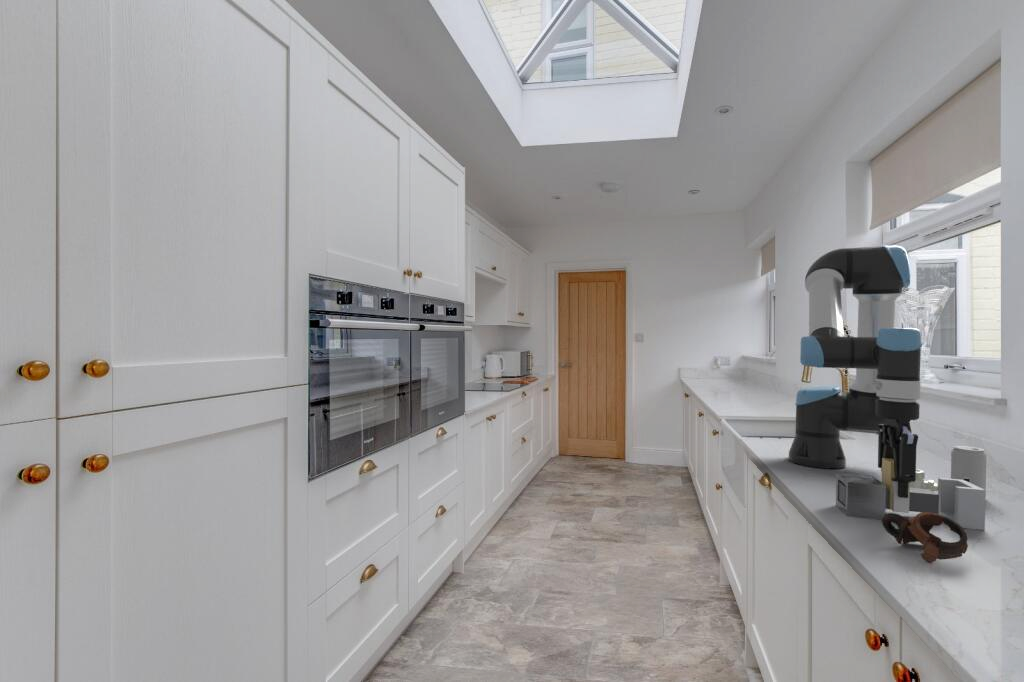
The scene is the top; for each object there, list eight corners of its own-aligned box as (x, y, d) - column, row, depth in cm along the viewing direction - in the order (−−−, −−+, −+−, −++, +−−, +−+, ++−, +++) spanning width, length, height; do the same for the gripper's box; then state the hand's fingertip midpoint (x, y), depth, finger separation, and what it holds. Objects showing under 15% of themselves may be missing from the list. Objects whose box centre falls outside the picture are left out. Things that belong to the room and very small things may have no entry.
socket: (937, 514, 111) (938, 477, 111) (962, 516, 110) (963, 479, 110) (957, 527, 104) (958, 487, 104) (984, 530, 102) (985, 490, 102)
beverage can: (989, 502, 120) (990, 451, 120) (953, 498, 123) (955, 448, 123) (981, 495, 126) (982, 446, 126) (947, 491, 129) (948, 443, 129)
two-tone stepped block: (838, 499, 115) (839, 454, 115) (928, 507, 110) (929, 461, 110) (845, 505, 111) (846, 459, 111) (939, 514, 106) (940, 466, 106)
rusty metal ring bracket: (957, 552, 92) (975, 521, 88) (953, 592, 86) (972, 560, 82) (878, 521, 99) (891, 491, 95) (869, 555, 93) (883, 525, 89)
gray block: (835, 505, 116) (836, 473, 116) (871, 508, 114) (872, 476, 114) (847, 515, 109) (847, 481, 109) (885, 519, 107) (886, 485, 107)
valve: (902, 499, 122) (969, 510, 115) (902, 471, 122) (970, 481, 115) (903, 492, 127) (968, 503, 120) (904, 466, 127) (969, 475, 120)
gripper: (861, 394, 119) (859, 494, 120) (894, 403, 102) (892, 519, 103) (899, 396, 117) (897, 497, 117) (939, 405, 100) (936, 524, 101)
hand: (894, 507), depth 110 cm, fingers closed on two-tone stepped block, 4 cm apart
